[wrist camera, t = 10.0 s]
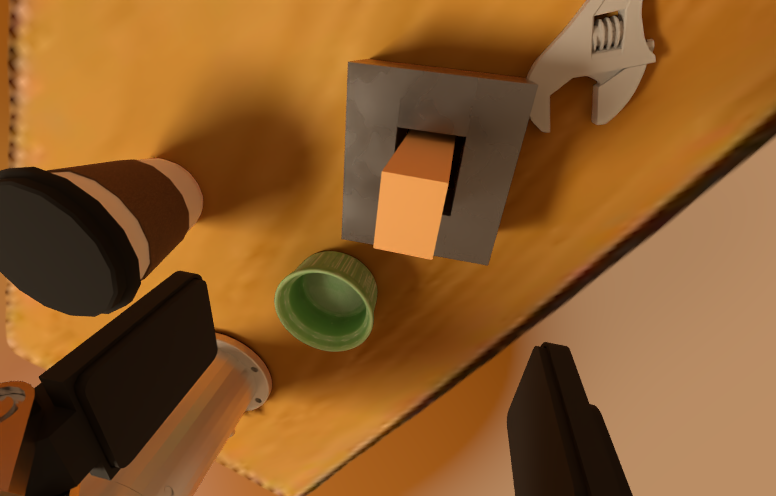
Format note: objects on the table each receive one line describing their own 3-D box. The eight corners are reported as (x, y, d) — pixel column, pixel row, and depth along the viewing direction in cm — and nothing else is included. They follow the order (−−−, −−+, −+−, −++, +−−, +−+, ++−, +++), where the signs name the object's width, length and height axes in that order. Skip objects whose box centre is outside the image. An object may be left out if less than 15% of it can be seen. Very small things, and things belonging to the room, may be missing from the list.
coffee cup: (114, 209, 36) (-28, 275, 26) (123, 106, 30) (-54, 137, 20) (214, 262, 37) (115, 346, 27) (241, 172, 31) (129, 234, 21)
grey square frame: (485, 233, 30) (488, 265, 25) (359, 212, 31) (341, 238, 27) (526, 77, 24) (538, 84, 20) (368, 58, 25) (348, 61, 21)
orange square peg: (456, 128, 26) (448, 183, 16) (445, 181, 28) (432, 259, 18) (415, 122, 26) (381, 171, 16) (407, 174, 28) (373, 248, 18)
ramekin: (289, 304, 38) (269, 333, 34) (300, 231, 33) (279, 255, 29) (371, 332, 37) (360, 364, 34) (394, 262, 33) (384, 291, 29)
